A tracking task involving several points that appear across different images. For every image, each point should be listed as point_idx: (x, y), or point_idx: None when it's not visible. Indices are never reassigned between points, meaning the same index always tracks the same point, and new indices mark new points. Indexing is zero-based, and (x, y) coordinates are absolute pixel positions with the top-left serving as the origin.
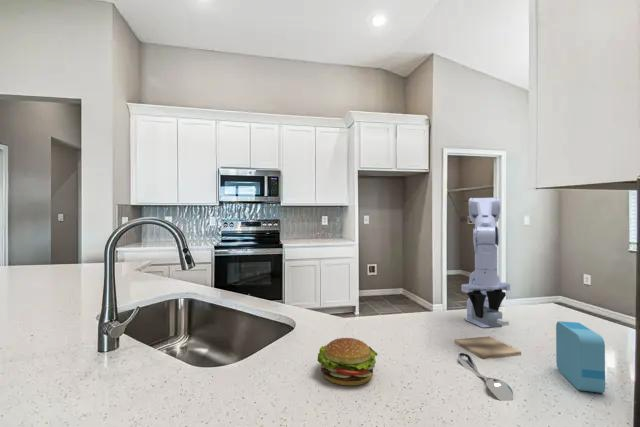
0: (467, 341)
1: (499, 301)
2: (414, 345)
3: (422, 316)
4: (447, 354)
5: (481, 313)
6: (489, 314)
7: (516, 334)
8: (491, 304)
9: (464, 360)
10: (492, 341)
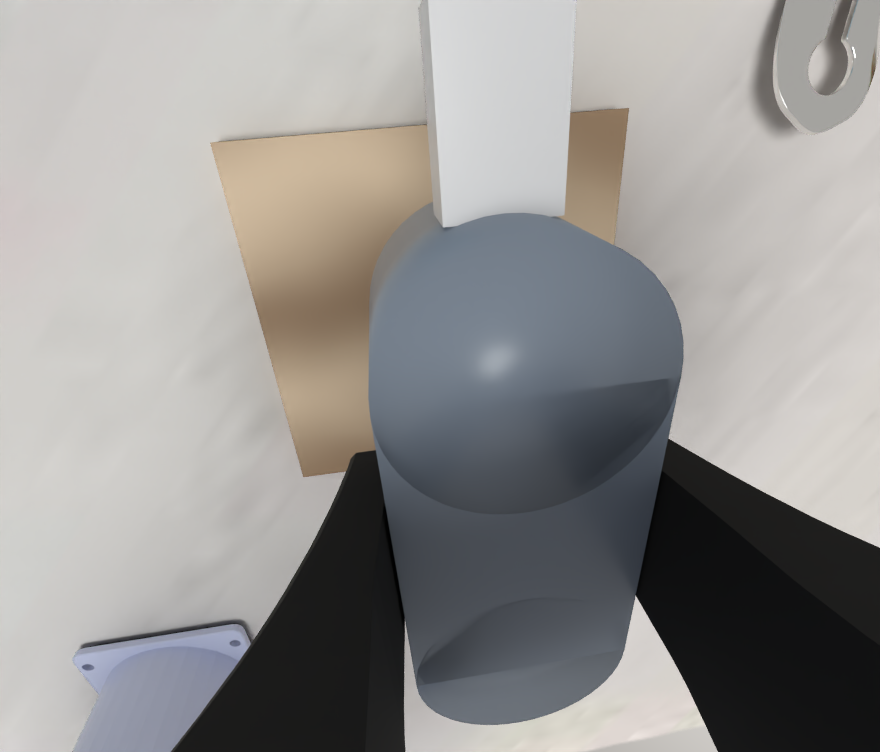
0: None
1: (293, 705)
2: (852, 395)
3: (493, 736)
4: (790, 236)
5: (671, 447)
6: (668, 327)
7: (33, 533)
8: (394, 676)
9: (860, 23)
10: (338, 388)
